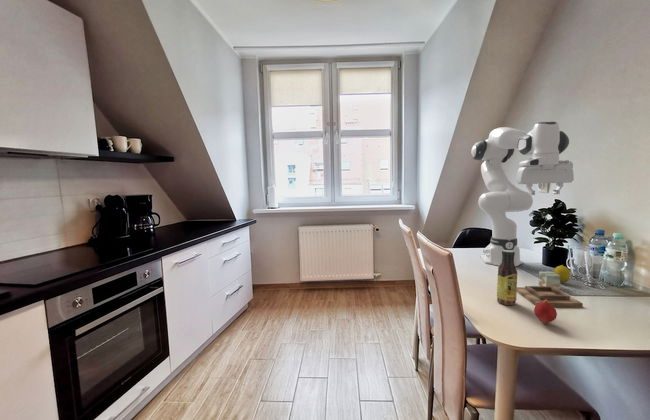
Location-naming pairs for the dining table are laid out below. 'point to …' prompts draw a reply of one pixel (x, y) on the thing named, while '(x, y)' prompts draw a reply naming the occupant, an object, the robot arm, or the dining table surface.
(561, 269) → the lemon
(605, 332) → the dining table surface
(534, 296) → the socket board
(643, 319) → the dining table surface
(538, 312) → the red bumpy ovoid
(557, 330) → the dining table surface
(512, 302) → the sauce bottle
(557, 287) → the block
